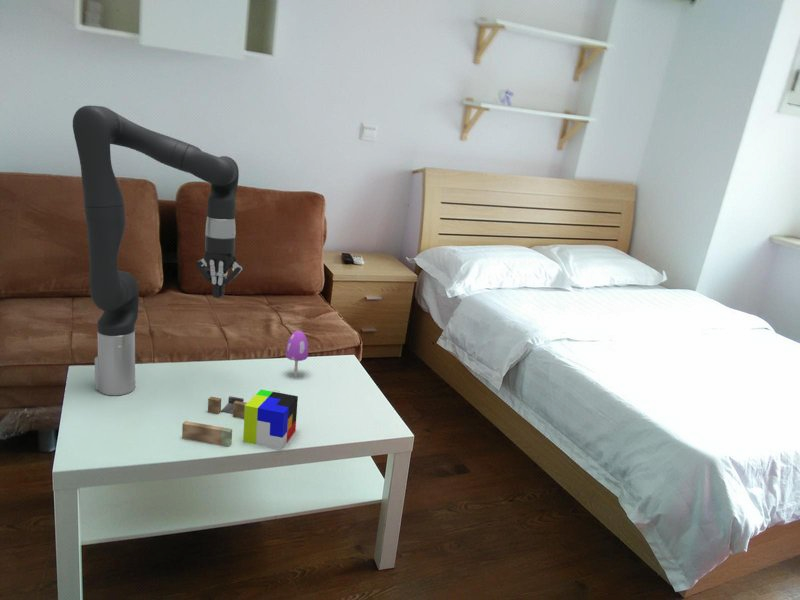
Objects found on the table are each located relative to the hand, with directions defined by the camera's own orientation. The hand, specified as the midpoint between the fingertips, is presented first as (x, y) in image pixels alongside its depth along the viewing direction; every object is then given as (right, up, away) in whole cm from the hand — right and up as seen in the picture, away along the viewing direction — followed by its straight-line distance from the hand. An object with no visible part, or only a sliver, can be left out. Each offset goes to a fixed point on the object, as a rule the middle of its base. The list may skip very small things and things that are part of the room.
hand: (218, 297), depth 168 cm
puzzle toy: (+16, -36, -10) cm, 40 cm away
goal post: (+15, -33, -2) cm, 36 cm away
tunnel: (+3, -33, -6) cm, 33 cm away
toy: (+16, -25, +27) cm, 40 cm away
